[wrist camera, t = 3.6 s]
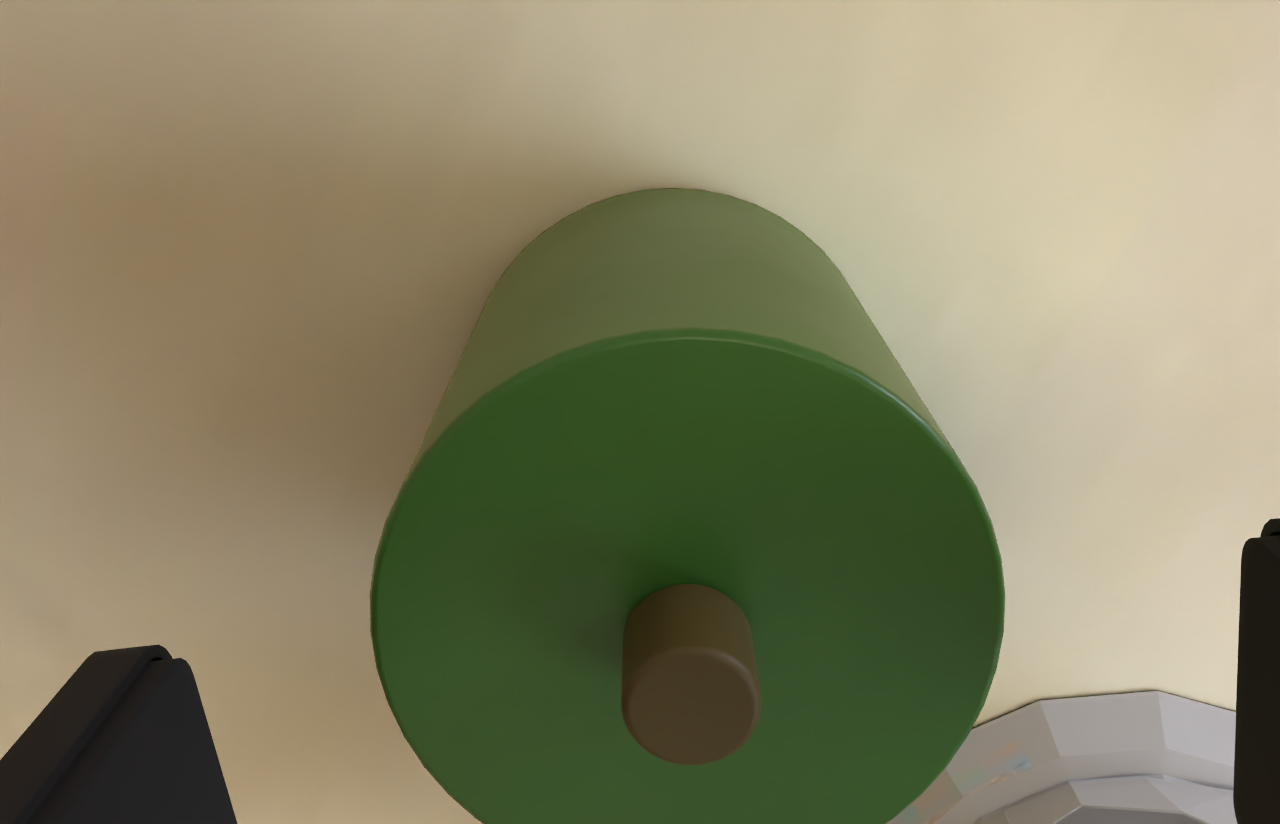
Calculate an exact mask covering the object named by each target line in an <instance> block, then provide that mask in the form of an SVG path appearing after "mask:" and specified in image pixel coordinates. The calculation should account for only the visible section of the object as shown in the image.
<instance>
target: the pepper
mask: <svg viewBox="0 0 1280 824" xmlns="http://www.w3.org/2000/svg"><path fill="white" fill-rule="evenodd" d="M1004 611H1005V588H1004V579H1003V570H1002V561H1001V555H1000V552H999V548H998V544H997V540H996V536H995V533H994V529H993V525H992V521H991V519H990V517H989V515H988V512H987V510H986V508H985V505H984V503H983V501H982V498H981V496H980V494H979V492H978V489H977V487H976V485H975V484H974V482H973V480H972V479H971V477H970V476H969V474H968V472H967V471H966V469H965V468H964V466H963V464H962V463H961V461H960V460H959V458H958V456H957V455H956V453H955V452H954V450H953V449H952V447H951V445H950V444H949V442H948V441H947V439H946V438H945V436H944V434H943V433H942V431H941V430H940V428H939V427H938V425H937V423H936V422H935V420H934V419H933V417H932V415H931V414H930V412H929V411H928V409H927V408H926V406H925V404H924V403H923V401H922V400H921V398H920V397H919V395H918V393H917V392H916V390H915V389H914V387H913V386H912V384H911V382H910V381H909V379H908V378H907V376H906V375H905V373H904V371H903V370H902V368H901V367H900V365H899V363H898V362H897V360H896V359H895V357H894V356H893V354H892V352H891V351H890V349H889V348H888V346H887V345H886V343H885V341H884V340H883V338H882V337H881V335H880V334H879V332H878V330H877V329H876V327H875V326H874V324H873V323H872V321H871V319H870V318H869V316H868V315H867V313H866V311H865V310H864V308H863V307H862V305H861V304H860V302H859V300H858V299H857V297H856V296H855V294H854V293H853V291H852V289H851V288H850V286H849V285H848V283H847V282H846V280H845V278H844V277H843V275H842V274H841V272H840V271H839V269H838V268H837V267H836V266H835V265H834V263H833V262H832V261H831V260H830V259H829V257H828V256H827V255H826V254H825V253H824V252H823V250H822V249H820V248H819V247H818V246H817V245H816V244H815V243H814V242H813V241H812V240H810V239H809V238H808V237H807V236H806V235H805V234H804V233H803V232H801V231H800V230H798V229H797V228H795V227H794V226H793V225H791V224H790V223H788V222H787V221H785V220H784V219H782V218H781V217H779V216H777V215H775V214H773V213H771V212H769V211H767V210H765V209H763V208H761V207H759V206H757V205H755V204H752V203H749V202H746V201H743V200H740V199H737V198H734V197H732V196H729V195H723V194H718V193H713V192H708V191H703V190H692V189H677V188H669V189H654V190H643V191H638V192H633V193H628V194H623V195H618V196H615V197H612V198H609V199H606V200H603V201H600V202H597V203H594V204H591V205H589V206H587V207H585V208H583V209H581V210H579V211H577V212H575V213H573V214H571V215H569V216H567V217H565V218H564V219H562V220H561V221H559V222H558V223H556V224H555V225H553V226H552V227H550V228H549V229H547V230H546V231H544V232H543V233H542V234H541V235H540V236H538V237H537V238H536V239H535V240H534V241H533V242H532V243H531V244H529V245H528V246H527V247H526V248H525V249H524V250H523V251H522V252H521V253H520V254H519V255H518V257H517V258H516V259H515V260H514V261H513V262H512V264H511V265H510V266H509V267H508V268H507V270H506V271H505V272H504V274H503V275H502V277H501V278H500V280H499V281H498V283H497V285H496V286H495V288H494V289H493V291H492V292H491V294H490V296H489V299H488V301H487V303H486V305H485V307H484V309H483V312H482V314H481V316H480V318H479V320H478V322H477V325H476V327H475V329H474V331H473V333H472V335H471V338H470V340H469V342H468V344H467V346H466V348H465V351H464V353H463V355H462V357H461V359H460V361H459V363H458V366H457V368H456V370H455V372H454V374H453V376H452V379H451V381H450V383H449V385H448V387H447V389H446V392H445V394H444V396H443V398H442V400H441V402H440V405H439V407H438V409H437V411H436V413H435V415H434V418H433V420H432V422H431V424H430V426H429V428H428V431H427V433H426V435H425V437H424V439H423V441H422V444H421V446H420V448H419V450H418V452H417V454H416V457H415V459H414V461H413V463H412V465H411V467H410V469H409V472H408V474H407V476H406V478H405V480H404V482H403V485H402V487H401V489H400V491H399V493H398V495H397V498H396V500H395V502H394V504H393V506H392V508H391V511H390V513H389V515H388V517H387V519H386V521H385V525H384V528H383V532H382V535H381V538H380V542H379V545H378V549H377V552H376V556H375V560H374V567H373V575H372V582H371V590H370V632H371V638H372V644H373V650H374V656H375V662H376V668H377V671H378V674H379V677H380V680H381V683H382V686H383V689H384V693H385V696H386V699H387V702H388V704H389V706H390V708H391V711H392V713H393V715H394V717H395V719H396V721H397V723H398V725H399V727H400V729H401V731H402V733H403V735H404V737H405V739H406V740H407V742H408V743H409V745H410V746H411V748H412V749H413V751H414V752H415V754H416V755H417V757H418V758H419V760H420V761H421V763H422V764H423V766H424V767H425V768H426V769H427V770H428V772H429V773H430V774H431V775H432V776H433V777H434V778H435V780H436V781H437V782H438V783H439V784H440V785H441V786H442V788H443V789H444V790H445V791H446V792H447V793H448V794H449V795H450V796H451V797H452V798H453V799H454V800H456V801H457V802H458V803H459V804H460V805H461V806H462V807H463V808H465V809H466V810H467V811H468V812H469V813H470V814H471V815H473V816H474V817H475V818H476V819H478V820H479V821H480V822H482V823H483V824H886V823H887V822H889V821H890V820H892V819H893V818H895V817H896V816H897V815H898V814H899V813H901V812H902V811H903V810H904V809H905V808H906V807H907V806H909V805H910V804H911V803H912V802H913V801H914V800H916V799H917V798H918V797H919V796H920V795H921V794H922V793H923V792H924V791H925V790H926V789H927V788H928V787H929V786H930V785H931V783H932V782H933V781H934V780H935V779H936V778H937V777H938V776H939V775H940V774H941V772H942V771H943V770H944V769H945V768H946V767H947V766H948V764H949V763H950V761H951V760H952V758H953V757H954V755H955V754H956V753H957V751H958V750H959V748H960V747H961V745H962V744H963V743H964V741H965V740H966V738H967V737H968V735H969V733H970V731H971V729H972V727H973V725H974V723H975V721H976V719H977V717H978V715H979V713H980V711H981V709H982V707H983V706H984V703H985V700H986V697H987V694H988V692H989V689H990V686H991V683H992V680H993V677H994V674H995V671H996V668H997V663H998V658H999V653H1000V648H1001V642H1002V637H1003V632H1004Z"/></svg>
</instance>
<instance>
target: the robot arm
mask: <svg viewBox="0 0 1280 824" xmlns="http://www.w3.org/2000/svg"><path fill="white" fill-rule="evenodd" d="M1233 803H1234V811H1235V816H1236V820H1237V823H1238V824H1280V518H1279V519H1270V520H1269V521H1268V522H1267V523H1266V524H1265V525H1264V528H1263V530H1262V533H1261V537H1259V538H1250V539H1248V540H1247V541H1246V542H1245V545H1244V547H1243V551H1242V559H1241V587H1240V616H1239V644H1238V673H1237V701H1236V730H1235V758H1234V787H1233ZM0 824H237V821H236V818H235V814H234V811H233V808H232V804H231V801H230V797H229V794H228V791H227V787H226V784H225V780H224V777H223V773H222V770H221V767H220V763H219V760H218V756H217V753H216V750H215V746H214V743H213V739H212V736H211V733H210V729H209V726H208V722H207V719H206V716H205V712H204V709H203V705H202V702H201V699H200V695H199V692H198V688H197V685H196V681H195V678H194V675H193V672H192V670H191V667H190V666H189V664H188V663H187V661H186V660H184V659H182V658H176V659H172V656H171V655H170V654H169V652H168V651H167V650H166V648H164V647H162V646H160V645H151V646H142V647H133V648H124V649H115V650H106V651H98V652H94V653H93V654H91V655H90V656H89V657H88V658H87V659H86V660H85V661H84V662H83V663H82V665H81V666H80V667H79V668H78V669H77V671H76V672H75V673H74V674H73V675H72V676H71V678H70V679H69V680H68V681H67V682H66V683H65V685H64V686H63V687H62V688H61V689H60V691H59V692H58V693H57V694H56V695H55V696H54V698H53V699H52V700H51V701H50V702H49V704H48V705H47V706H46V707H45V708H44V709H43V711H42V712H41V713H40V714H39V715H38V716H37V718H36V719H35V720H34V721H33V722H32V724H31V725H30V726H29V727H28V728H27V729H26V731H25V732H24V733H23V734H22V735H21V736H20V738H19V739H18V740H17V741H16V742H15V744H14V745H13V746H12V747H11V748H10V749H9V751H8V752H7V753H6V754H5V755H4V757H3V758H2V759H1V760H0Z"/></svg>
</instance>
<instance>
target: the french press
mask: <svg viewBox="0 0 1280 824" xmlns="http://www.w3.org/2000/svg"><path fill="white" fill-rule="evenodd" d="M1235 730H1236V712H1233V711H1230V710H1226V709H1222V708H1219V707H1215V706H1211V705H1208V704H1204V703H1200V702H1197V701H1193V700H1190V699H1186V698H1182V697H1179V696H1175V695H1171V694H1168V693H1164V692H1160V691H1149V692H1137V693H1125V694H1113V695H1100V696H1088V697H1076V698H1064V699H1051V700H1039V701H1037V702H1035V703H1032V704H1030V705H1028V706H1025V707H1023V708H1021V709H1018V710H1016V711H1014V712H1011V713H1009V714H1007V715H1004V716H1002V717H1000V718H997V719H995V720H993V721H990V722H988V723H986V724H983V725H981V726H979V727H976V728H974V729H972V730H971V731H970V733H969V735H968V737H967V738H966V740H965V741H964V743H963V744H962V745H961V747H960V748H959V750H958V751H957V753H956V754H955V755H954V757H953V758H952V760H951V761H950V763H949V764H948V766H947V767H946V768H945V769H944V770H943V771H942V772H941V774H940V775H939V776H938V777H937V778H936V779H935V780H934V781H933V782H932V783H931V785H930V786H929V787H928V788H927V789H926V790H925V791H924V792H923V793H922V794H921V795H920V796H919V797H918V798H917V799H916V800H914V801H913V802H912V803H911V804H910V805H909V806H907V807H906V808H905V809H904V810H903V811H902V812H901V813H899V814H898V815H897V816H896V817H895V818H893V819H892V820H890V821H889V822H887V823H886V824H1238V823H1237V820H1236V816H1235V811H1234V803H1233V787H1234V758H1235Z"/></svg>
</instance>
